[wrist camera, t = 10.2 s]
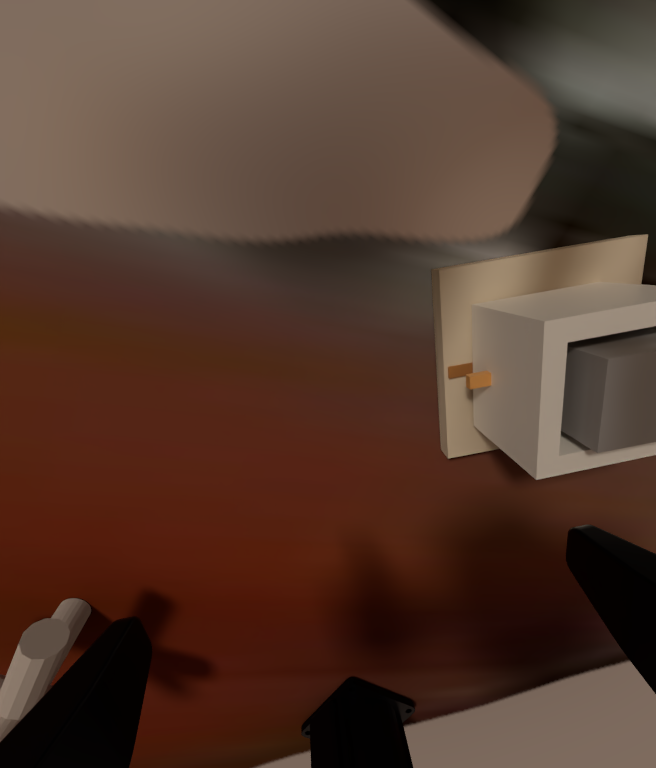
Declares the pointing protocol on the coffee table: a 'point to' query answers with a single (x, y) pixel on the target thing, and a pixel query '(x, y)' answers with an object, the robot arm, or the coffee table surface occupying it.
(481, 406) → the square tube segment
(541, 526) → the coffee table surface
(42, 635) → the pipe connector
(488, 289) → the square peg base
